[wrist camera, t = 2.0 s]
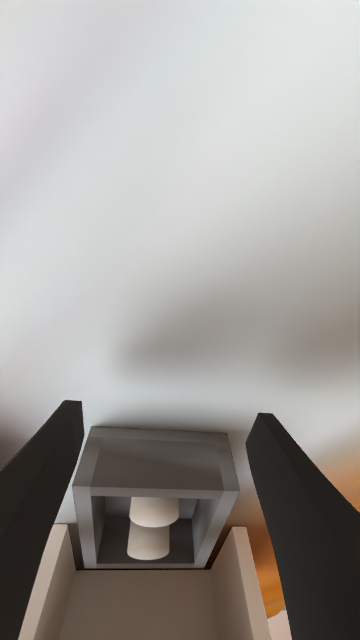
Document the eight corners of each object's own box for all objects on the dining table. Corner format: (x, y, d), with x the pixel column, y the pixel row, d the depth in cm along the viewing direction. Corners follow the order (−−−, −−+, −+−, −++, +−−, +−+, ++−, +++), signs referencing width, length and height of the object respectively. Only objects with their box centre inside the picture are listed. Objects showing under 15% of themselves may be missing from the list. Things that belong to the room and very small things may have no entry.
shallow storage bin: (218, 573, 26) (237, 715, 19) (64, 574, 24) (22, 730, 17) (245, 526, 21) (284, 698, 14) (51, 524, 19) (-15, 717, 12)
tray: (198, 508, 20) (203, 567, 17) (98, 506, 19) (84, 568, 16) (225, 428, 15) (239, 491, 12) (92, 421, 14) (71, 486, 11)
